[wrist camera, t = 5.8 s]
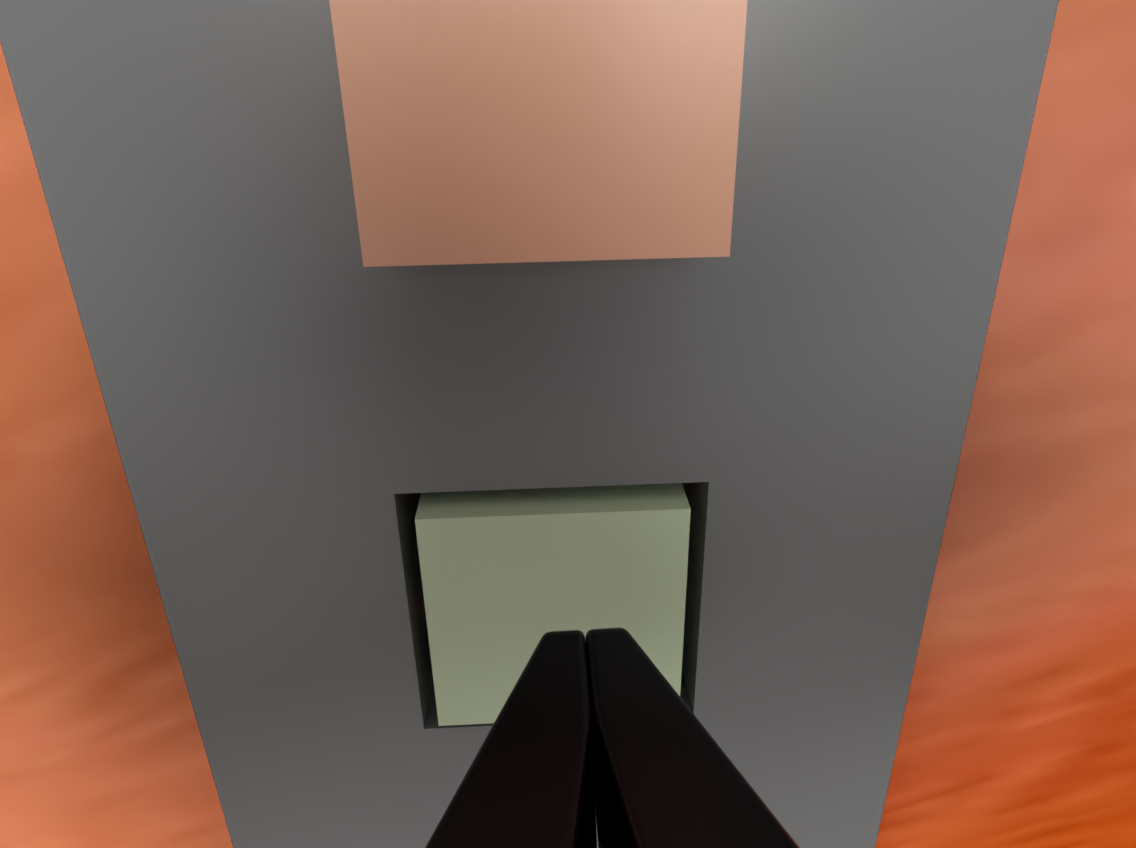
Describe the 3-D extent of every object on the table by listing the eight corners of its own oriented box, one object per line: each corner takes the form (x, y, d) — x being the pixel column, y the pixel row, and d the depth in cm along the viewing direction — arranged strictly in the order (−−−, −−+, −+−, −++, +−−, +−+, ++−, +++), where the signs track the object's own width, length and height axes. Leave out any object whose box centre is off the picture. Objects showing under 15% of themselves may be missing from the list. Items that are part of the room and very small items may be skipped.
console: (1003, -394, 10) (1178, -556, 7) (790, 926, 21) (829, 1055, 18) (23, -394, 10) (-178, -567, 7) (332, 952, 21) (303, 1089, 18)
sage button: (664, 433, 14) (690, 509, 12) (657, 617, 16) (679, 714, 13) (433, 441, 14) (415, 519, 12) (451, 627, 15) (438, 725, 13)
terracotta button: (704, -134, 9) (762, -192, 7) (688, 213, 11) (729, 255, 9) (359, -131, 9) (304, -189, 7) (396, 221, 11) (362, 266, 9)
